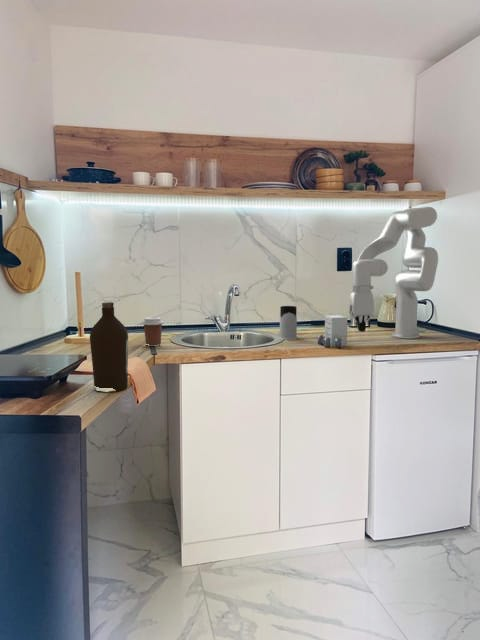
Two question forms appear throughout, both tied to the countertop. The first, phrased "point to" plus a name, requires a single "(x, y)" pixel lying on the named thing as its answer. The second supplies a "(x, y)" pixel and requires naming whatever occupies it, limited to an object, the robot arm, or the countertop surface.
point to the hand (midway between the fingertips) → (361, 331)
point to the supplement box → (336, 329)
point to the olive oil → (109, 351)
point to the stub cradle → (328, 342)
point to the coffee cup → (153, 330)
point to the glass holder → (288, 322)
